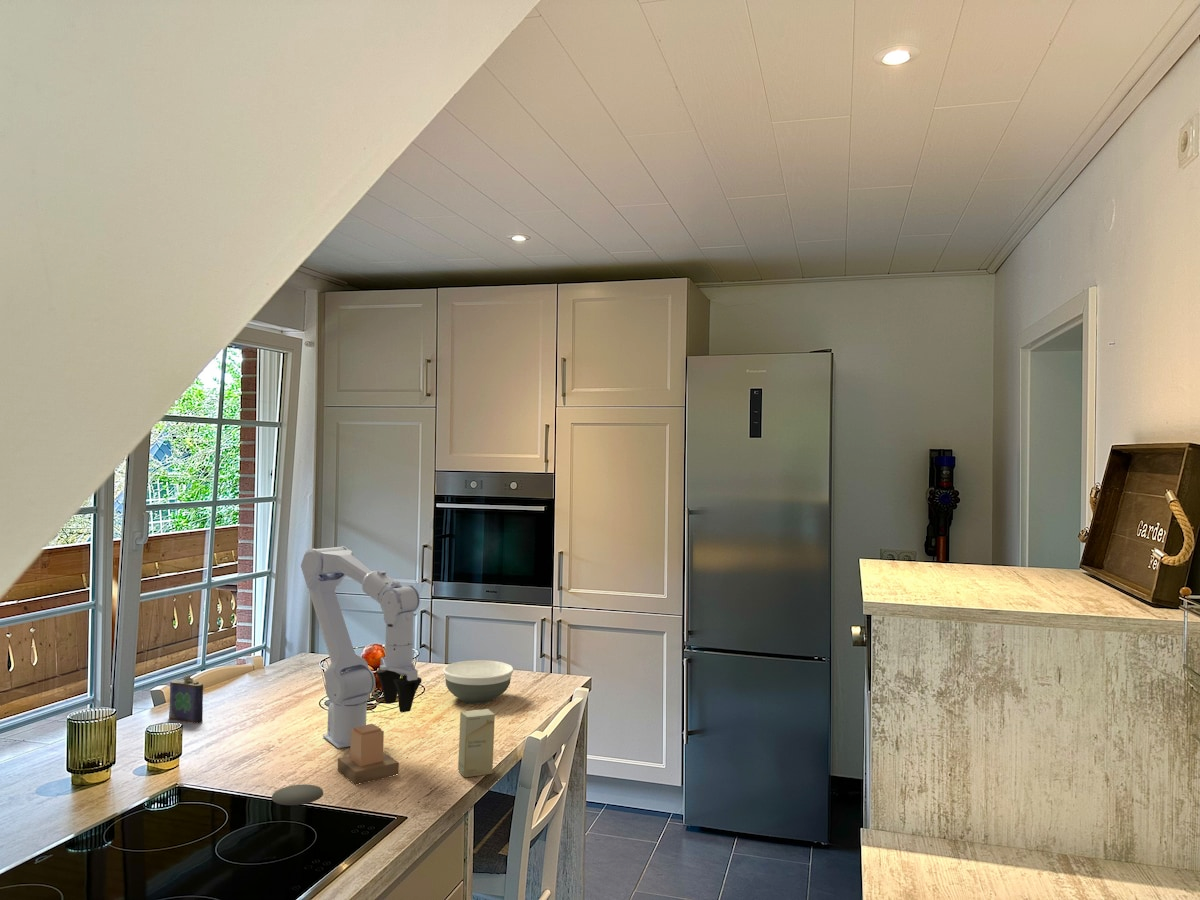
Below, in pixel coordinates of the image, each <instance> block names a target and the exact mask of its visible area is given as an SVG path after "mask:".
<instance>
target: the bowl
mask: <svg viewBox="0 0 1200 900" xmlns="http://www.w3.org/2000/svg"><path fill="white" fill-rule="evenodd" d="M442 672H443V675H444V679H445V685H446V688H447V689H448V691H449V693H451V694H452V695H453V696H454V697H456V698H458V699H459V700H461V701H462V702H463V703H465V704H470V705H482V704H489V703H492V702H493V701H494V700H495V699H497V698H499V697H500V696H501V695H502V694H504V693H506V691H507V690H508V688H509V686H510V684H511V680H512V679H511V678H512V675H513V673H514V668H513V665H511V664H508V663H506V662H502V661H497V660H487V659H486V660H483V659H482V660H481V659H479V660H478V659H475V660H462V661H456V662H453V663H452V662H451V663H449V664H447V665H446V666H444V667H443V669H442Z"/></svg>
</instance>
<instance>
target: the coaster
mask: <svg viewBox="0 0 1200 900" xmlns="http://www.w3.org/2000/svg"><path fill="white" fill-rule="evenodd" d="M323 793H324V790H323V788H321V787H320V786H318V785H315V784H307V783H306V784H294V785H289V786H285V787H282V788H280V789H278V790H276V791H274V792H273V794H271V795H272V796H271V800H272V802H273V803H275V804H277V805H282V806H300V805H304V804H309V803H311V802H312V803H313V802H314V801H316V800H318V799H320V798H321V797H322V796H323ZM321 795H322V796H321ZM319 797H320V798H319ZM308 802H309V803H308Z"/></svg>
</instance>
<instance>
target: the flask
mask: <svg viewBox="0 0 1200 900" xmlns="http://www.w3.org/2000/svg"><path fill="white" fill-rule="evenodd" d="M192 676H193V674H187V675H183V676H182V677H183V680H181V679H180V680H179V679H176V680H175V679H174V680H172V681H170V682H169V683H170V684H169V687H170V688H169V690H170V691H169V707H168V708H169V713H168V718H169V720H171V721H178V722H181V723H182V722H185V723H190V724H202V722H203V714H204V710H203V708H204V706H203V705H204V703H203V700H204V699H203V698H204V697H203V696H204V684H203V683H201V682H199V681H198V680H195V681H194V678H191V677H192Z"/></svg>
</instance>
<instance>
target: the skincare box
mask: <svg viewBox="0 0 1200 900" xmlns="http://www.w3.org/2000/svg"><path fill="white" fill-rule="evenodd" d="M495 717H496V714H495V713H494V712H493V711H492V710H490V709H489V708H482V709H473V710H465V711H464V710H463V711H460V715H459V718H460V719H459V741H458V761H457V762H458V763H457V764H458V765H457V766H458V767H457V771H458V770H459V771H458V772H459V773H460V774H461V776H463V778H468V777H469V778H471V777H478V776H486V775H492V774H493V772H494V771H493V769H494V768H493V767H494V743H495V741H494V740H495Z"/></svg>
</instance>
